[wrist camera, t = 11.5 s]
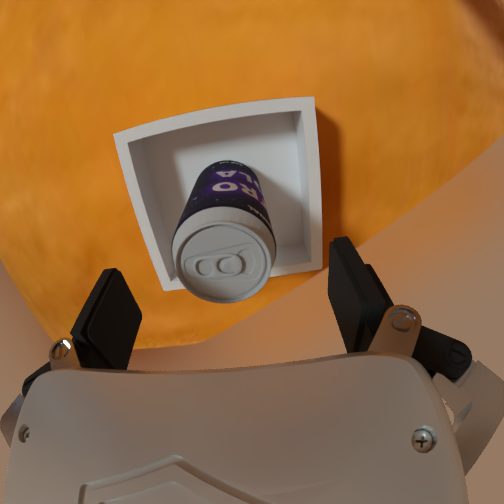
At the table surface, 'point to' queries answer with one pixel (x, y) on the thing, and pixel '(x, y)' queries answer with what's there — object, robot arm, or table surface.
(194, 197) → the beverage can
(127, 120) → the table surface
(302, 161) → the box
